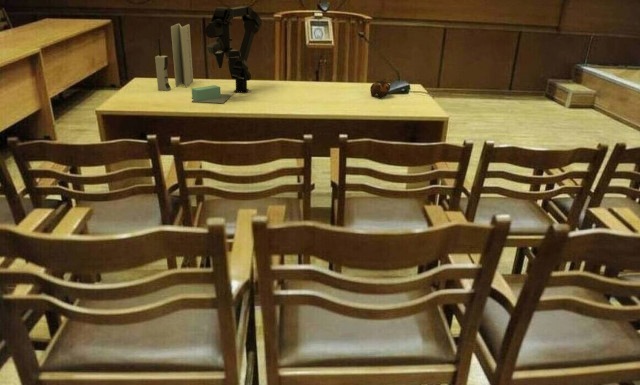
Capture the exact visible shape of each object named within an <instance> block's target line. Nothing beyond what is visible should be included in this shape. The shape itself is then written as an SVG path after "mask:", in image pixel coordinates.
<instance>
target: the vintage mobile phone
mask: <svg viewBox="0 0 640 385" xmlns="http://www.w3.org/2000/svg"><path fill="white" fill-rule="evenodd" d="M157 40H158V54H159V55H156V56H154V59H155V61H154V62H155V71H156V81H157V90H158V91H162V92H168V91H170V90H171V89H172V88H171V86H170V83H169V75H168V67H169V56H168V55H162V50H161V41H160V38H157Z"/></svg>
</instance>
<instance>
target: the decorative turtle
mask: <svg viewBox="0 0 640 385" xmlns="http://www.w3.org/2000/svg"><path fill="white" fill-rule="evenodd" d="M369 90H370V95H371V97H374V96H376V95H377V96H378V97H379V98H380V99H382V98H384V97H386V96H388V94H389V92H390V90H391V85H390V84H389V83H388V82H386V81H385V80H377V81H374V83H372V84H371V86H370V89H369Z"/></svg>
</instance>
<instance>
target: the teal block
mask: <svg viewBox="0 0 640 385" xmlns="http://www.w3.org/2000/svg"><path fill="white" fill-rule="evenodd" d="M221 91H222V90H221V86H218V85H216V84H214V85H206V86H199V87H191V97H192V98H191V99H192V100H196V101H201V100H208V99H214V98H221V94H222V93H221Z"/></svg>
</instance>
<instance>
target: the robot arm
mask: <svg viewBox="0 0 640 385" xmlns="http://www.w3.org/2000/svg"><path fill="white" fill-rule="evenodd" d="M236 17H241V20H242V22H243V30H244V32H243V37H242V40H241V44H240V47H239V49H233V46H231V42H233V38H231V26H233V23H232V22H231V21H233V20H234V18H236ZM262 22H263V21H262V19H261V17H260V15H259V14H258V13H257V12H256V11H254V9H253V8H252V7H251V6H249V5H240V6H237V7H235V6H234V7H221V6H219V7H218V6H217V7H215V10H214V11H213V14H212V18H211V20H210V21H208V24H207V25H206V26H205V29H204V31H205V36H206V37H208V38H209V39H214V38H215V41H214V42H211V43H209V44H207V45H206V48H207V51H208V53H209V54H210V53H211V55H213V56H214V57H215V61H216V63H217V65H218V66H217V67H218V68H219V69H222V66H223V62H224V58H225V60H227V63H228V64H227V65H228V70H229V74H230V77H231V79H232V80H235V89H234V90H233V93H242V94H243V93H244V94H245V93H248V92H249V90H250V89H249V88H248V81H250V80H251V78H252V74H251V73H250V71H249V65H248V58H249V54H250V51H251V48H252V44H253V41H254V38H255V37H254V36H255V35H256V34H257V33H259V31H260V29H261V26H262Z"/></svg>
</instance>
